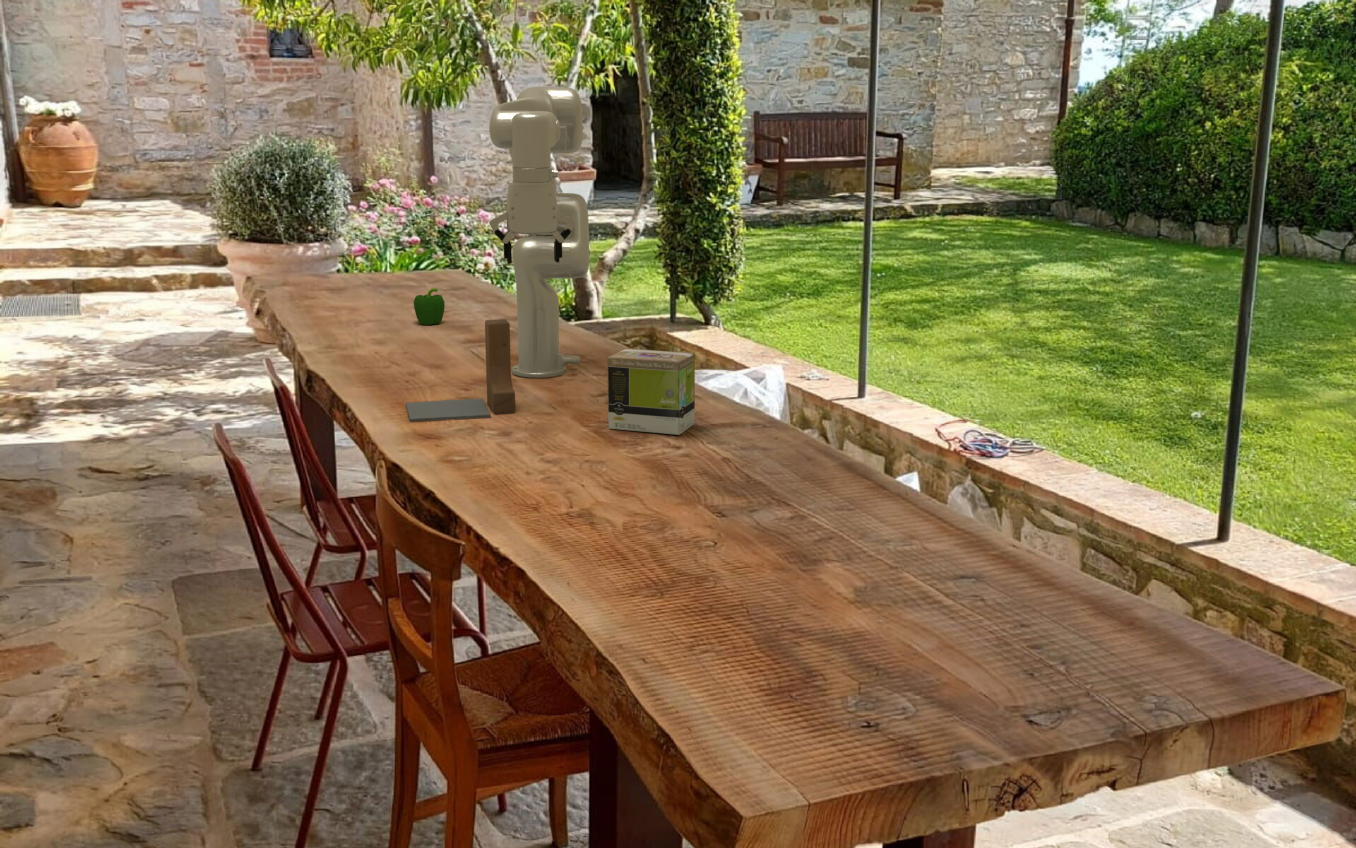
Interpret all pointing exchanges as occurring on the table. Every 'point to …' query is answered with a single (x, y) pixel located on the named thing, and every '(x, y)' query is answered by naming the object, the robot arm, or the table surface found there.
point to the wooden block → (499, 367)
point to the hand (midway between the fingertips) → (533, 261)
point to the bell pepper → (429, 308)
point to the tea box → (651, 391)
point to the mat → (447, 410)
